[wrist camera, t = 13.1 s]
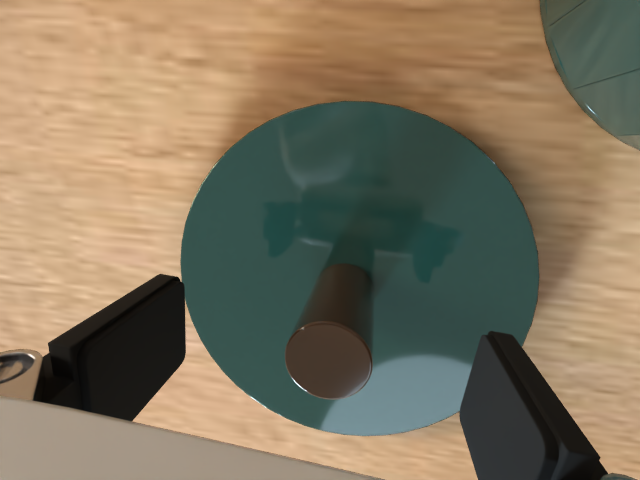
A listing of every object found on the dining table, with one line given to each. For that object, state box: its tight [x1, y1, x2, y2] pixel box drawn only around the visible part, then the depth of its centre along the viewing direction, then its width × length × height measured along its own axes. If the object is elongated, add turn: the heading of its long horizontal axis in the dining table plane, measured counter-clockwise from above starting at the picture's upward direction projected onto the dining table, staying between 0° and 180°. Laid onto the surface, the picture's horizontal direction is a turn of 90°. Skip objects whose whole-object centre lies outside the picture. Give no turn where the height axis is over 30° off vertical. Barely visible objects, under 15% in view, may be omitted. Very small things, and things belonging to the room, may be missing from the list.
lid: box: [181, 101, 539, 436], centre depth 14 cm, size 17×17×7 cm
